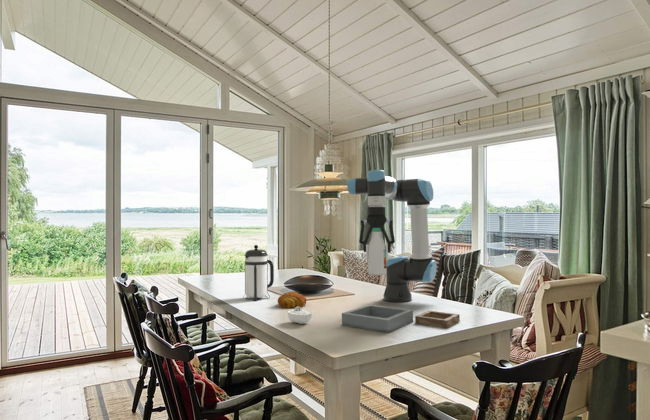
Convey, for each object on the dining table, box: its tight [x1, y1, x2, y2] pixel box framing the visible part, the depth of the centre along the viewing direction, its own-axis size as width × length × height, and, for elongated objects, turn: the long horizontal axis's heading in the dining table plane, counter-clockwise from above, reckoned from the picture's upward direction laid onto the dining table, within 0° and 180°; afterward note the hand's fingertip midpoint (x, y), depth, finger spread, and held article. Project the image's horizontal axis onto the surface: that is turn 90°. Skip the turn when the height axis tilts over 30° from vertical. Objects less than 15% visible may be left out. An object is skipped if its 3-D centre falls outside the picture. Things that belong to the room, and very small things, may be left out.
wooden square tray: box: [414, 310, 461, 329], centre depth 192 cm, size 14×14×3 cm
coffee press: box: [242, 244, 275, 302], centre depth 253 cm, size 17×16×30 cm
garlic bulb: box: [286, 307, 313, 325], centre depth 194 cm, size 10×12×7 cm
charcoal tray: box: [341, 304, 414, 334], centre depth 191 cm, size 22×22×5 cm
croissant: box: [277, 291, 307, 309], centre depth 231 cm, size 14×16×8 cm
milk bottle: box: [367, 228, 387, 276], centre depth 191 cm, size 8×8×20 cm
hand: (377, 259), depth 191 cm, fingers closed on milk bottle, 8 cm apart
